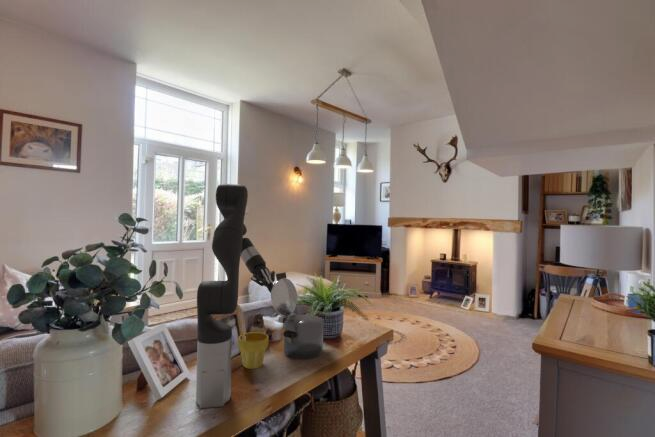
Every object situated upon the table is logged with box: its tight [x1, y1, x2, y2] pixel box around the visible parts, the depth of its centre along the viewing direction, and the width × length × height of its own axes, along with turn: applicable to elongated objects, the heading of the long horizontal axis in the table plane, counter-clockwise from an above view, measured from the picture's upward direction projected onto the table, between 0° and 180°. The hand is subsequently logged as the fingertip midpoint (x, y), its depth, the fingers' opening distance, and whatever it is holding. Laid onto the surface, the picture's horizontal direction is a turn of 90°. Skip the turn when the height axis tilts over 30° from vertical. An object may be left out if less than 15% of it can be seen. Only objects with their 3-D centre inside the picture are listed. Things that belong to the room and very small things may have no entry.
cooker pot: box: [277, 312, 324, 360], centre depth 133 cm, size 17×20×12 cm
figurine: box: [249, 312, 267, 334], centre depth 141 cm, size 7×7×12 cm
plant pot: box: [237, 331, 270, 370], centre depth 120 cm, size 10×10×10 cm
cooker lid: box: [270, 271, 298, 317], centre depth 139 cm, size 17×15×2 cm
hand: (274, 292), depth 141 cm, fingers closed
